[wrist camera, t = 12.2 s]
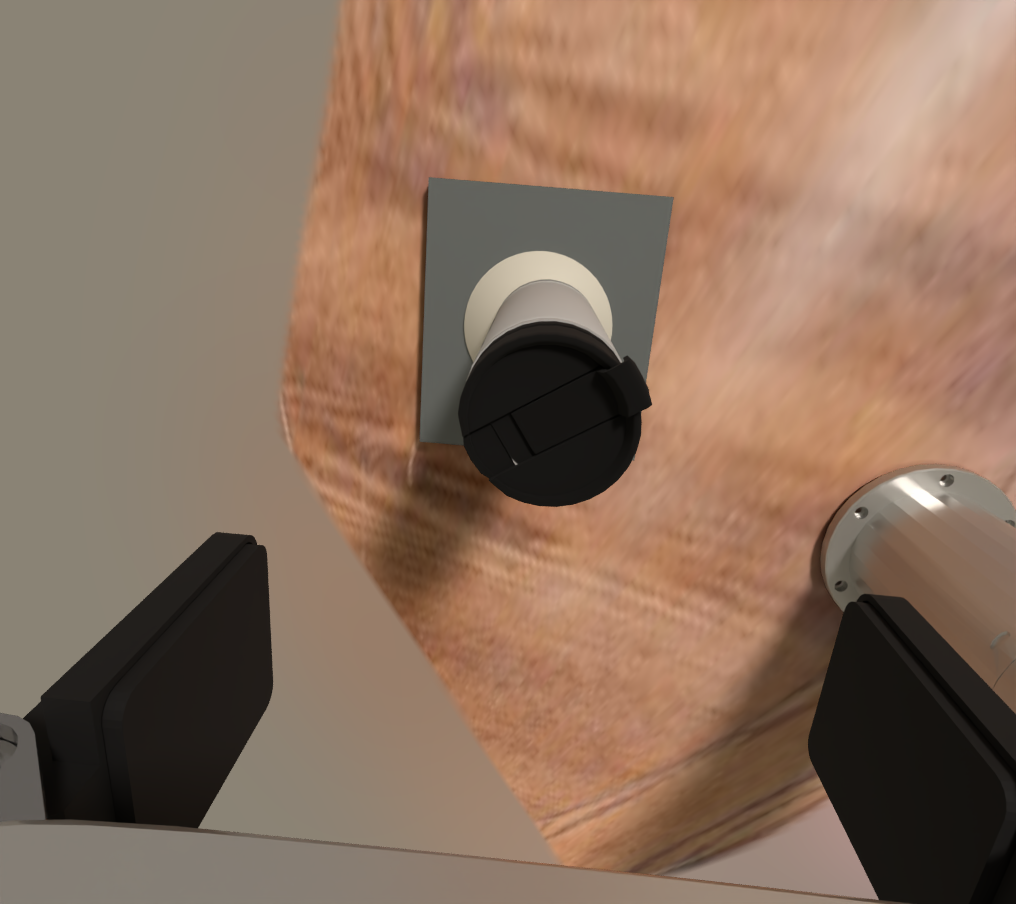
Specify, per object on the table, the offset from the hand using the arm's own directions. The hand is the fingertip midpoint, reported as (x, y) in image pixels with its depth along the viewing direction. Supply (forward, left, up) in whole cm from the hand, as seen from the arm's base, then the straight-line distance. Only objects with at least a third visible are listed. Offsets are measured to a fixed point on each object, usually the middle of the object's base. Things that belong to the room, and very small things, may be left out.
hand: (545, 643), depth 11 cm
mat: (0, 0, -33) cm, 33 cm away
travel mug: (0, 0, -32) cm, 32 cm away
